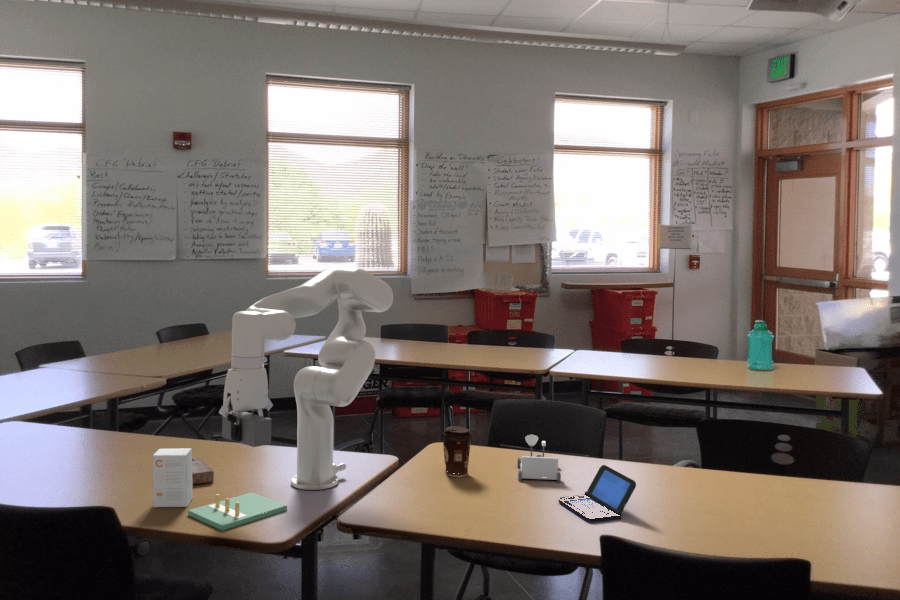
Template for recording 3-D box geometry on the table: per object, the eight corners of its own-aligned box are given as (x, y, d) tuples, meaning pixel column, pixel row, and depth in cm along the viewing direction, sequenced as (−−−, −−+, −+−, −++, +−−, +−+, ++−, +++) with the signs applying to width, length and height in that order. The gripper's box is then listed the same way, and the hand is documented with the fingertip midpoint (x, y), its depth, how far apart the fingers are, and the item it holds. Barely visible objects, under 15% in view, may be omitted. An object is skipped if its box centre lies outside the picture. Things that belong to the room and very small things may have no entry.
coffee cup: (437, 476, 217) (438, 431, 216) (444, 468, 225) (445, 424, 224) (467, 479, 215) (469, 433, 214) (474, 471, 223) (475, 426, 222)
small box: (193, 498, 194) (192, 447, 193) (186, 507, 188) (186, 454, 187) (159, 498, 194) (159, 447, 193) (152, 507, 187) (152, 455, 186)
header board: (252, 496, 197) (252, 480, 196) (286, 510, 188) (286, 493, 187) (188, 515, 183) (188, 497, 183) (222, 530, 174) (222, 512, 174)
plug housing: (238, 434, 191) (239, 410, 191) (270, 443, 183) (271, 418, 183) (221, 437, 188) (222, 412, 187) (254, 447, 180) (254, 421, 179)
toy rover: (518, 431, 232) (557, 433, 231) (517, 463, 233) (556, 465, 232) (519, 447, 214) (561, 449, 213) (518, 482, 215) (560, 484, 214)
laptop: (556, 503, 198) (557, 467, 197) (601, 498, 203) (602, 463, 202) (588, 524, 184) (590, 486, 183) (636, 518, 189) (638, 481, 188)
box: (173, 487, 202) (173, 475, 201) (160, 471, 216) (160, 460, 216) (214, 482, 207) (215, 471, 207) (199, 467, 222) (199, 456, 222)
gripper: (267, 358, 193) (265, 430, 194) (207, 364, 180) (205, 441, 181) (286, 362, 189) (284, 436, 190) (226, 368, 176) (224, 447, 177)
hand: (246, 437), depth 185 cm, fingers closed on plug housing, 4 cm apart
